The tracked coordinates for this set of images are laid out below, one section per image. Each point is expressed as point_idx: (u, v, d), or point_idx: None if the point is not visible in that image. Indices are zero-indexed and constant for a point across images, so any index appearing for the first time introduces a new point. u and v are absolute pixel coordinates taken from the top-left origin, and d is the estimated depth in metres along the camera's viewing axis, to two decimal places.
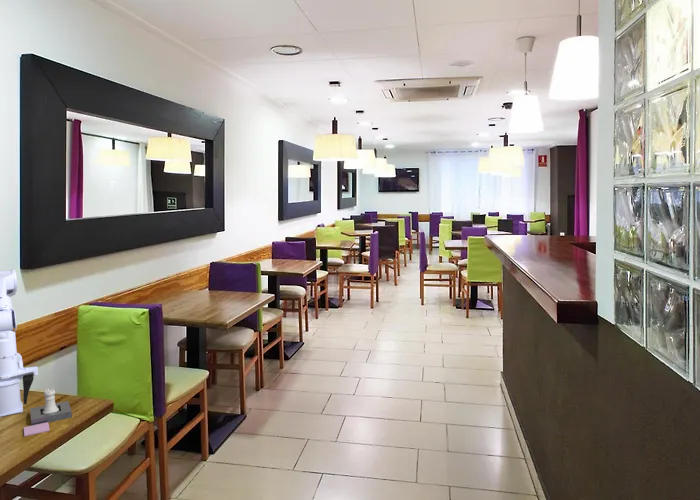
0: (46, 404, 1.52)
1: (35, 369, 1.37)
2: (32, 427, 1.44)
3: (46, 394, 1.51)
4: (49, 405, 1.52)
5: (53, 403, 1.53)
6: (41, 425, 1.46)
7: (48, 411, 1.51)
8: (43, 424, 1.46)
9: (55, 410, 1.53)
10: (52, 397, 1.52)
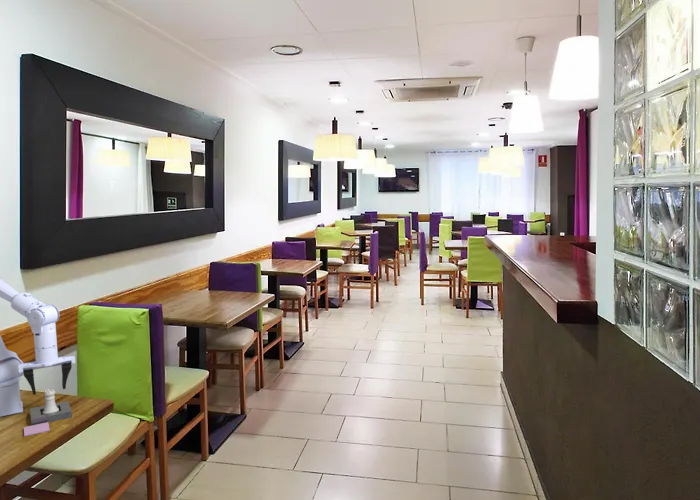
0: (46, 404, 1.52)
1: (73, 358, 1.55)
2: (32, 427, 1.44)
3: (46, 394, 1.51)
4: (49, 405, 1.52)
5: (53, 403, 1.53)
6: (41, 425, 1.46)
7: (48, 411, 1.51)
8: (43, 424, 1.46)
9: (55, 410, 1.53)
10: (52, 397, 1.52)
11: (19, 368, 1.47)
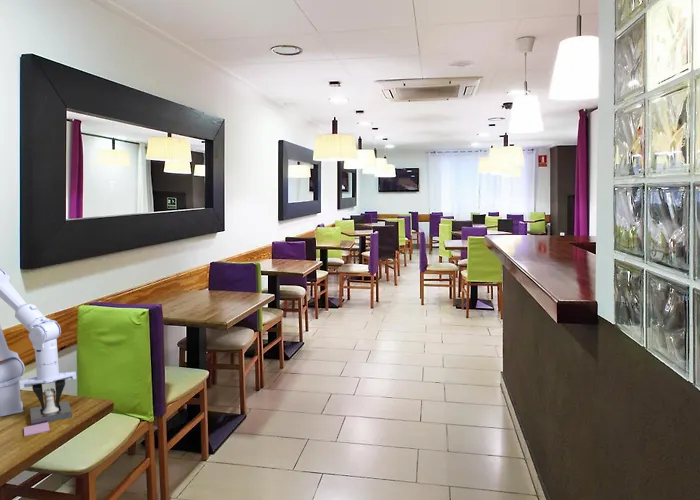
0: (46, 404, 1.52)
1: (74, 374, 1.55)
2: (32, 427, 1.44)
3: (46, 394, 1.51)
4: (49, 405, 1.52)
5: (53, 403, 1.53)
6: (41, 425, 1.46)
7: (48, 411, 1.51)
8: (43, 424, 1.46)
9: (55, 410, 1.53)
10: (52, 397, 1.52)
11: (20, 384, 1.48)
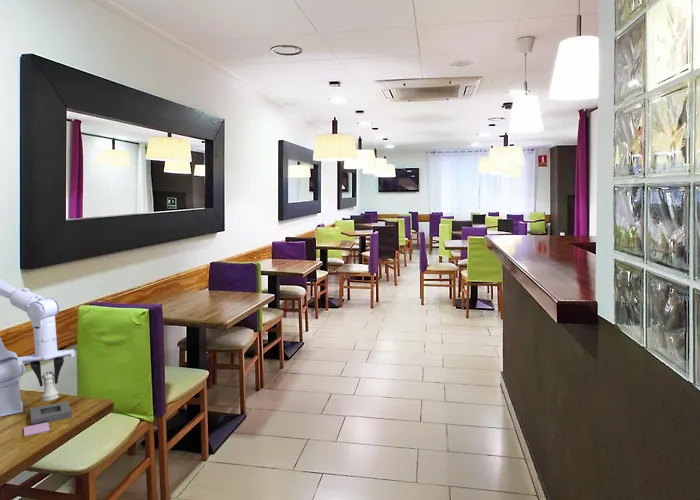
0: (45, 387, 1.51)
1: (72, 351, 1.55)
2: (32, 427, 1.44)
3: (45, 377, 1.51)
4: (49, 388, 1.51)
5: (52, 386, 1.52)
6: (41, 425, 1.46)
7: (47, 394, 1.51)
8: (43, 424, 1.46)
9: (55, 393, 1.52)
10: (51, 380, 1.52)
11: (18, 361, 1.47)
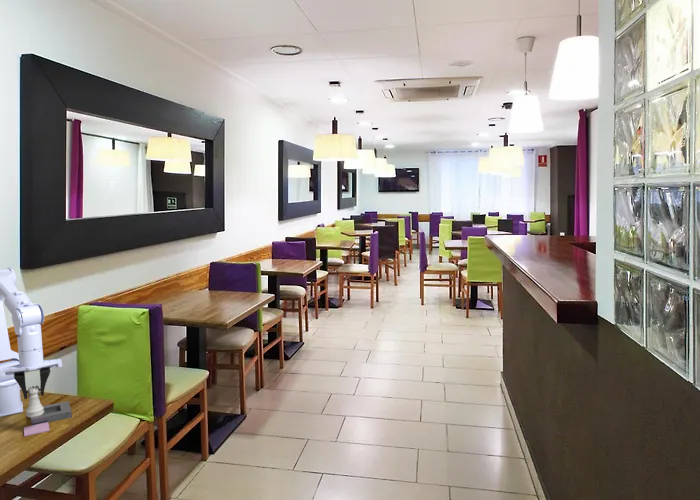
0: (29, 402, 1.42)
1: (59, 361, 1.45)
2: (32, 427, 1.44)
3: (29, 392, 1.41)
4: (33, 404, 1.42)
5: (37, 402, 1.43)
6: (41, 425, 1.46)
7: (31, 410, 1.42)
8: (43, 424, 1.46)
9: (39, 409, 1.43)
10: (36, 395, 1.42)
11: (1, 372, 1.37)
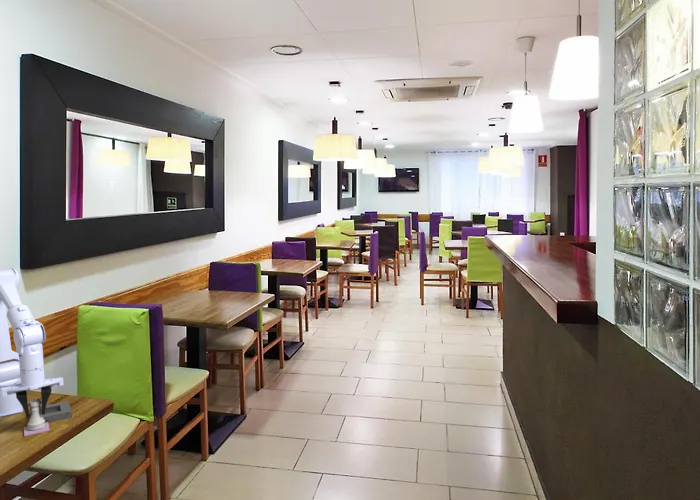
0: (31, 415, 1.43)
1: (61, 380, 1.45)
2: None
3: (30, 405, 1.42)
4: (34, 417, 1.42)
5: (38, 414, 1.43)
6: None
7: (32, 423, 1.42)
8: None
9: (40, 422, 1.43)
10: (37, 408, 1.43)
11: (3, 392, 1.38)
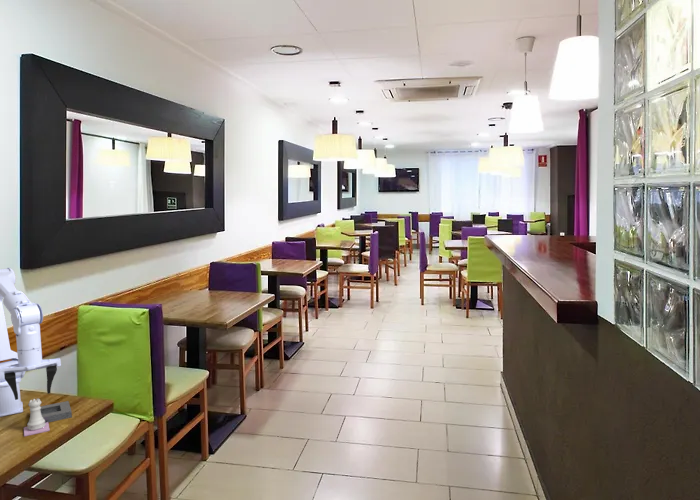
0: (31, 415, 1.43)
1: (58, 360, 1.45)
2: None
3: (30, 405, 1.42)
4: (34, 417, 1.42)
5: (38, 414, 1.43)
6: None
7: (32, 423, 1.42)
8: None
9: (40, 422, 1.43)
10: (37, 408, 1.43)
11: (0, 371, 1.38)
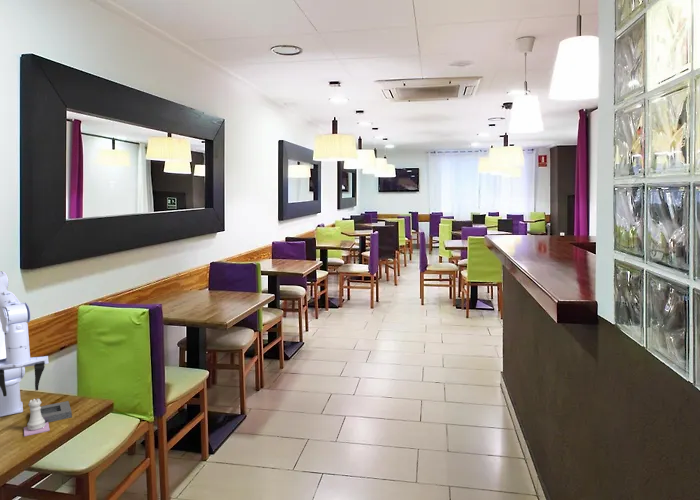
0: (31, 415, 1.43)
1: (46, 358, 1.49)
2: None
3: (30, 405, 1.42)
4: (34, 417, 1.42)
5: (38, 414, 1.43)
6: None
7: (32, 423, 1.42)
8: None
9: (40, 422, 1.43)
10: (37, 408, 1.43)
11: None
